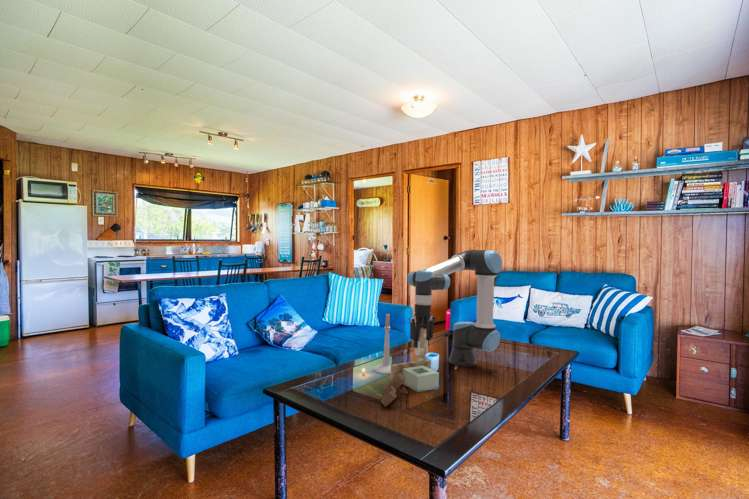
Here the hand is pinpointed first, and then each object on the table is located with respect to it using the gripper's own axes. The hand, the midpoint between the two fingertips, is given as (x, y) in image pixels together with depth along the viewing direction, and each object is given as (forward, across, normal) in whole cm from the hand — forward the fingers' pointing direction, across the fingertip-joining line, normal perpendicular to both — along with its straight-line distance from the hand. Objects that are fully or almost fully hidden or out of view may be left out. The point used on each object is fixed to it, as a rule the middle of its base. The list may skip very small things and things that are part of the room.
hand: (421, 354), depth 181 cm
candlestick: (+16, +1, -28) cm, 33 cm away
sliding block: (+15, 0, 0) cm, 15 cm away
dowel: (+4, 0, 0) cm, 4 cm away
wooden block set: (+16, +19, +4) cm, 25 cm away
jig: (+16, 0, +2) cm, 16 cm away
